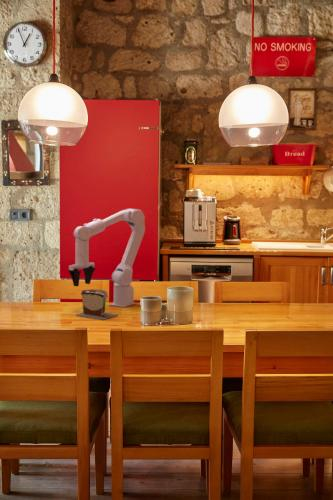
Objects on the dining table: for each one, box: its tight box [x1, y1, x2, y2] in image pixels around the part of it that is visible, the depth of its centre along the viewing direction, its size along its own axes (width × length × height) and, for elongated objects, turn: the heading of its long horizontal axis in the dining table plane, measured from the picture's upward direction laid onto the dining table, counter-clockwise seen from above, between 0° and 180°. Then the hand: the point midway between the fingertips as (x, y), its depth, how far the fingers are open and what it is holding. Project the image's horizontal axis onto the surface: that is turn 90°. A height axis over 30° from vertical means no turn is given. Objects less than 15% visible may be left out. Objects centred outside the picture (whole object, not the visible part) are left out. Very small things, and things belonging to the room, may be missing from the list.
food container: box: [80, 288, 109, 317], centre depth 229 cm, size 12×6×10 cm, turn 60°
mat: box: [75, 312, 119, 321], centre depth 229 cm, size 10×14×1 cm
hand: (81, 284), depth 241 cm, fingers open, 7 cm apart
